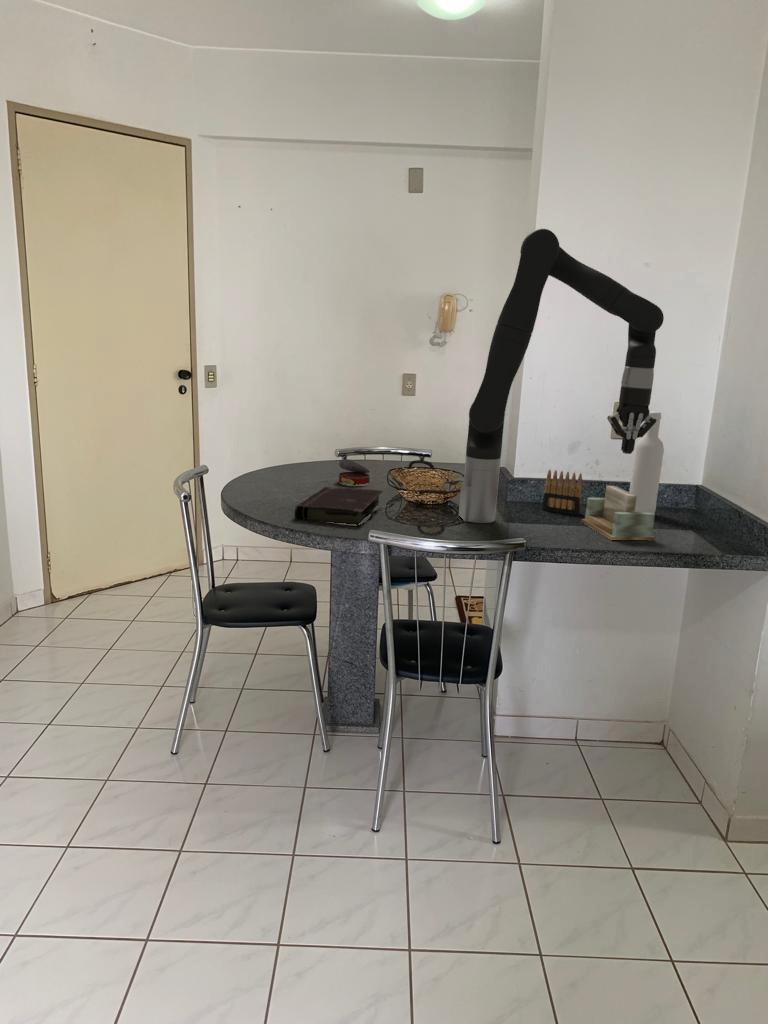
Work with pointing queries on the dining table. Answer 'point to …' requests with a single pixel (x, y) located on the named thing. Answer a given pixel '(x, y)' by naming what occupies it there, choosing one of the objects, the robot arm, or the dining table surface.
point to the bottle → (647, 468)
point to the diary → (339, 505)
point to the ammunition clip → (571, 499)
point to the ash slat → (617, 502)
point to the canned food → (353, 473)
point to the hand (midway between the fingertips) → (627, 453)
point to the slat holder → (619, 522)
